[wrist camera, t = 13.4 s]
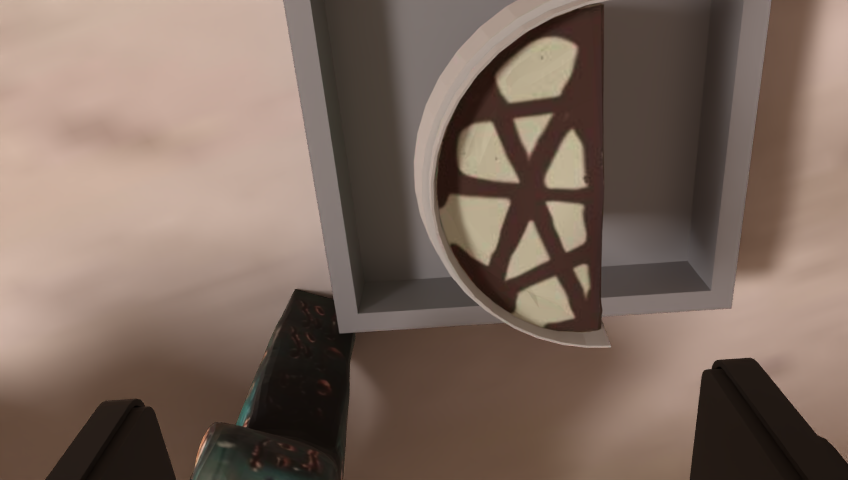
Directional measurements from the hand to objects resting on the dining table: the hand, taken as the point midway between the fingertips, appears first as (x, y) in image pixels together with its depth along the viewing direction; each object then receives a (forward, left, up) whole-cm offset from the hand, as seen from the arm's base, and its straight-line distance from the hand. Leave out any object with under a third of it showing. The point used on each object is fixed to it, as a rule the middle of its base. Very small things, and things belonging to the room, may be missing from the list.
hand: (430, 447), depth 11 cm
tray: (+1, -4, -21) cm, 21 cm away
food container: (+1, -2, -20) cm, 20 cm away
